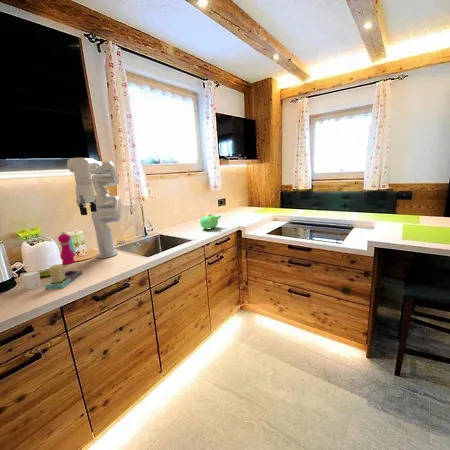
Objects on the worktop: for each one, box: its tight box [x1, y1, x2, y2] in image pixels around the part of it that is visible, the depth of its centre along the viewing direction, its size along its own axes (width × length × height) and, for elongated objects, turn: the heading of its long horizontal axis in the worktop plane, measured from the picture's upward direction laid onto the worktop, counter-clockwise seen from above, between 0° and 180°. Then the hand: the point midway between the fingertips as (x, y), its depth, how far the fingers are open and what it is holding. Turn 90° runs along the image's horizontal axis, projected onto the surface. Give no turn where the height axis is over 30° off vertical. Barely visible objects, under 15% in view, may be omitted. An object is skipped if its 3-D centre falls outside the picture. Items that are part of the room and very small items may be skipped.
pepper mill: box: [57, 231, 76, 265], centre depth 144 cm, size 7×7×20 cm
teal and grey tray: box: [44, 269, 83, 290], centre depth 120 cm, size 17×8×2 cm, turn 2°
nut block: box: [48, 263, 66, 284], centre depth 114 cm, size 4×4×10 cm
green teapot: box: [199, 213, 222, 230], centre depth 219 cm, size 18×17×15 cm
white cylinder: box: [21, 270, 42, 290], centre depth 114 cm, size 7×7×7 cm
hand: (89, 213), depth 128 cm, fingers open, 9 cm apart
